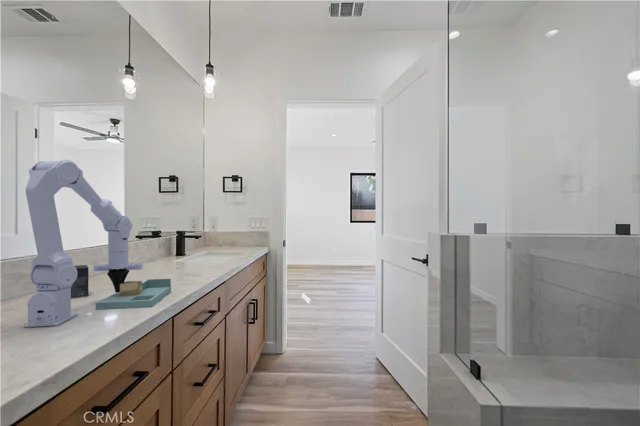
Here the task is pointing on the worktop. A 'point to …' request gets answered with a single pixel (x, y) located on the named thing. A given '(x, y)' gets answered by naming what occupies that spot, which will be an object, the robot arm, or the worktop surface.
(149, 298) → the trap deck
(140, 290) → the block
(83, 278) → the box
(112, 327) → the worktop surface
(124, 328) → the worktop surface
